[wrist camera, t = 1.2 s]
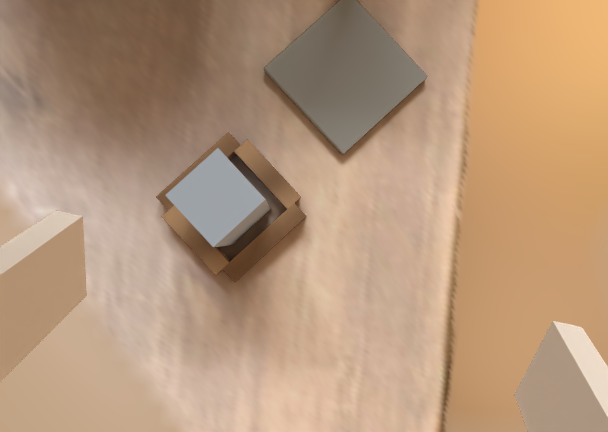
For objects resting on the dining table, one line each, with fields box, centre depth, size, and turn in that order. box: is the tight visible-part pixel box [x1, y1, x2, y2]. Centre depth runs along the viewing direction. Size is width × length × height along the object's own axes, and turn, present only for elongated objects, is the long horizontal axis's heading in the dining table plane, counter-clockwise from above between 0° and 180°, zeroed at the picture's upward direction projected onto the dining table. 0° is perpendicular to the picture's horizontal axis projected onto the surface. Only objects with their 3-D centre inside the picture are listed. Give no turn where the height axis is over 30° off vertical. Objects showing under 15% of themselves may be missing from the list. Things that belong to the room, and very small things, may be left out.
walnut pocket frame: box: [157, 132, 306, 282], centre depth 38 cm, size 10×10×2 cm
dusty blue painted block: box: [165, 148, 271, 247], centre depth 34 cm, size 4×4×10 cm
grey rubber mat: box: [264, 0, 428, 155], centre depth 39 cm, size 10×10×1 cm
